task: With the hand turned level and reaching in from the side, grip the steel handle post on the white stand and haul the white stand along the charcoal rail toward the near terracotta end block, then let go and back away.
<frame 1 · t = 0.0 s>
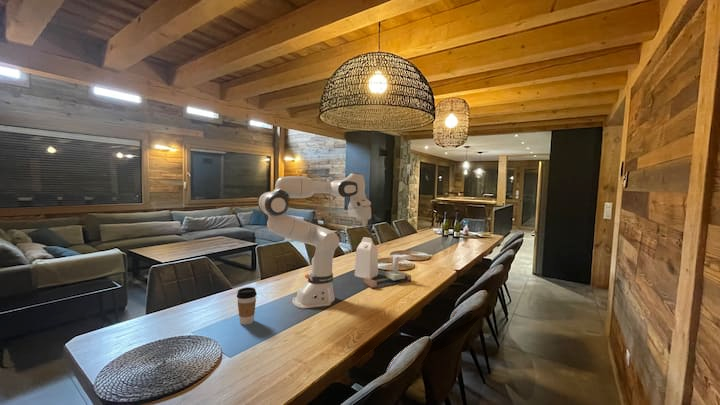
hand: (359, 225, 173), 39 cm above the table, tool pointing down, fingers open, 8 cm apart
rail: (387, 282, 193), on the table
milk: (366, 275, 207), on the table
coffee cup: (246, 322, 136), on the table
white stand: (395, 267, 195), point 9 cm above the table, slide at 10.0 cm
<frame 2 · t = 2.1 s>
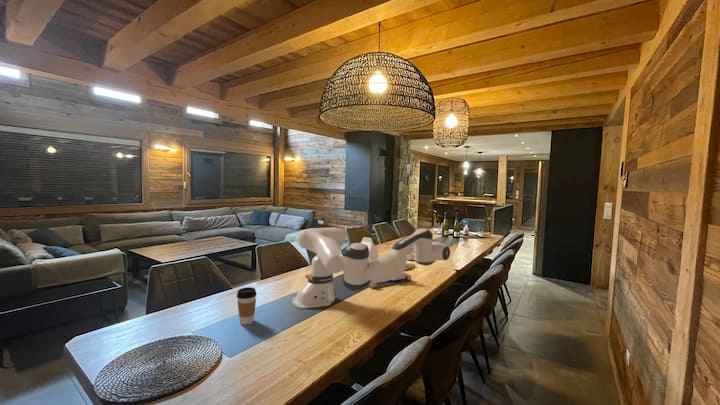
hand: (410, 243, 178), 28 cm above the table, tool horizontal, fingers open, 8 cm apart
nothing on the table moved.
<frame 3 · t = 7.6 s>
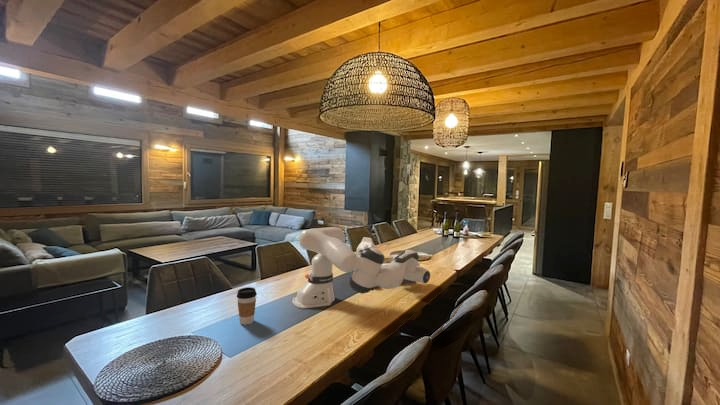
hand: (394, 264, 196), 11 cm above the table, tool horizontal, fingers closed on white stand, 4 cm apart
white stand: (395, 267, 195), point 9 cm above the table, slide at 10.0 cm, touching gripper
everything else where it was.
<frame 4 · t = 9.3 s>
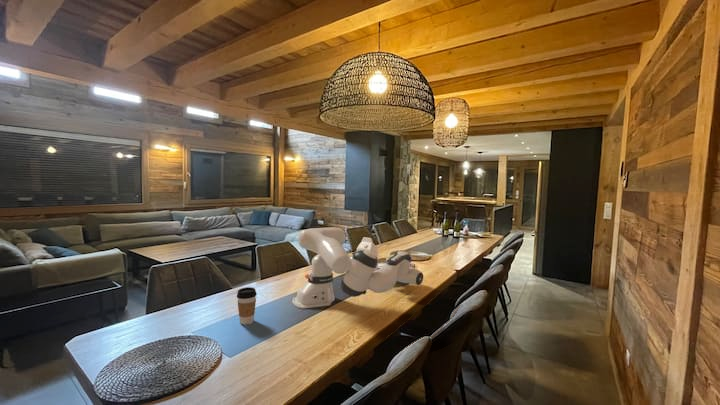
hand: (388, 265, 193), 11 cm above the table, tool horizontal, fingers closed on white stand, 4 cm apart
white stand: (388, 268, 192), point 9 cm above the table, slide at 4.6 cm, touching gripper
everything else where it was.
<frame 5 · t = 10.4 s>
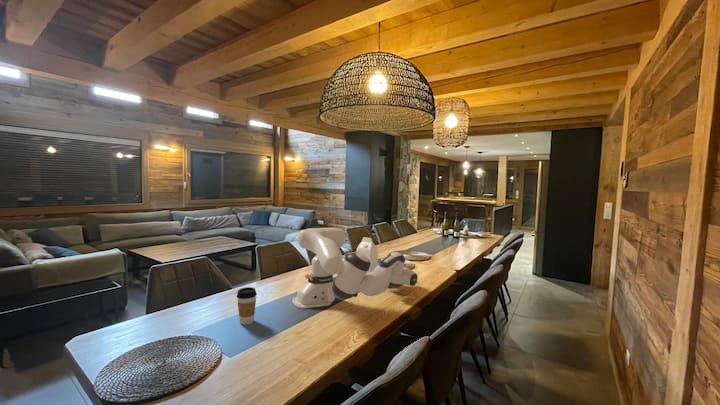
hand: (382, 266, 191), 11 cm above the table, tool horizontal, fingers closed on white stand, 4 cm apart
white stand: (383, 269, 190), point 9 cm above the table, slide at 0.5 cm, touching gripper
everything else where it was.
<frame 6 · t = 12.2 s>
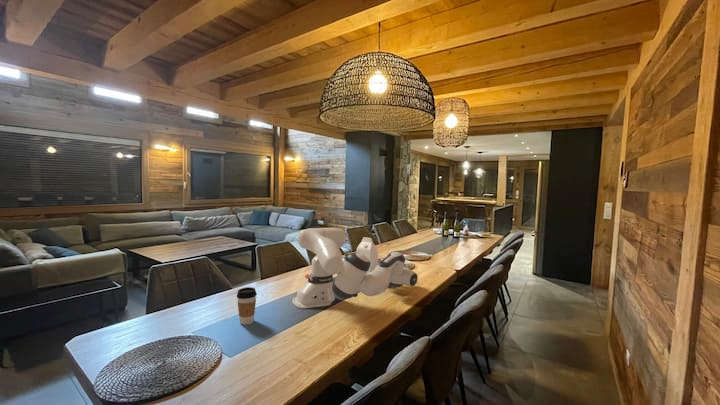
hand: (382, 266, 191), 11 cm above the table, tool horizontal, fingers open, 8 cm apart
white stand: (383, 269, 190), point 9 cm above the table, slide at 0.5 cm
everything else where it was.
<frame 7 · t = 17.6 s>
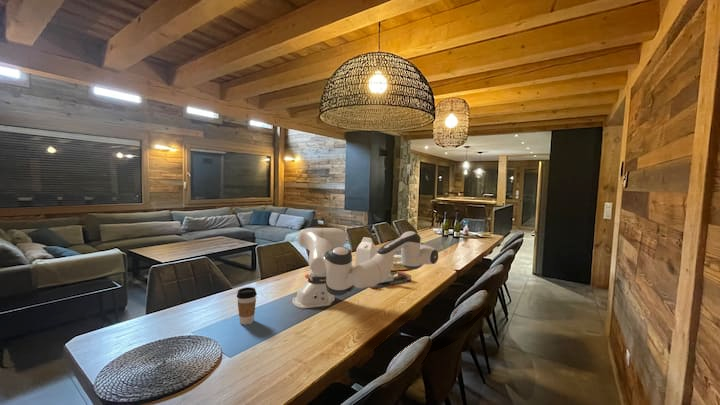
hand: (397, 245, 174), 28 cm above the table, tool horizontal, fingers open, 8 cm apart
nothing on the table moved.
at the end: white stand slide at 0.5 cm; the gripper is holding nothing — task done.
